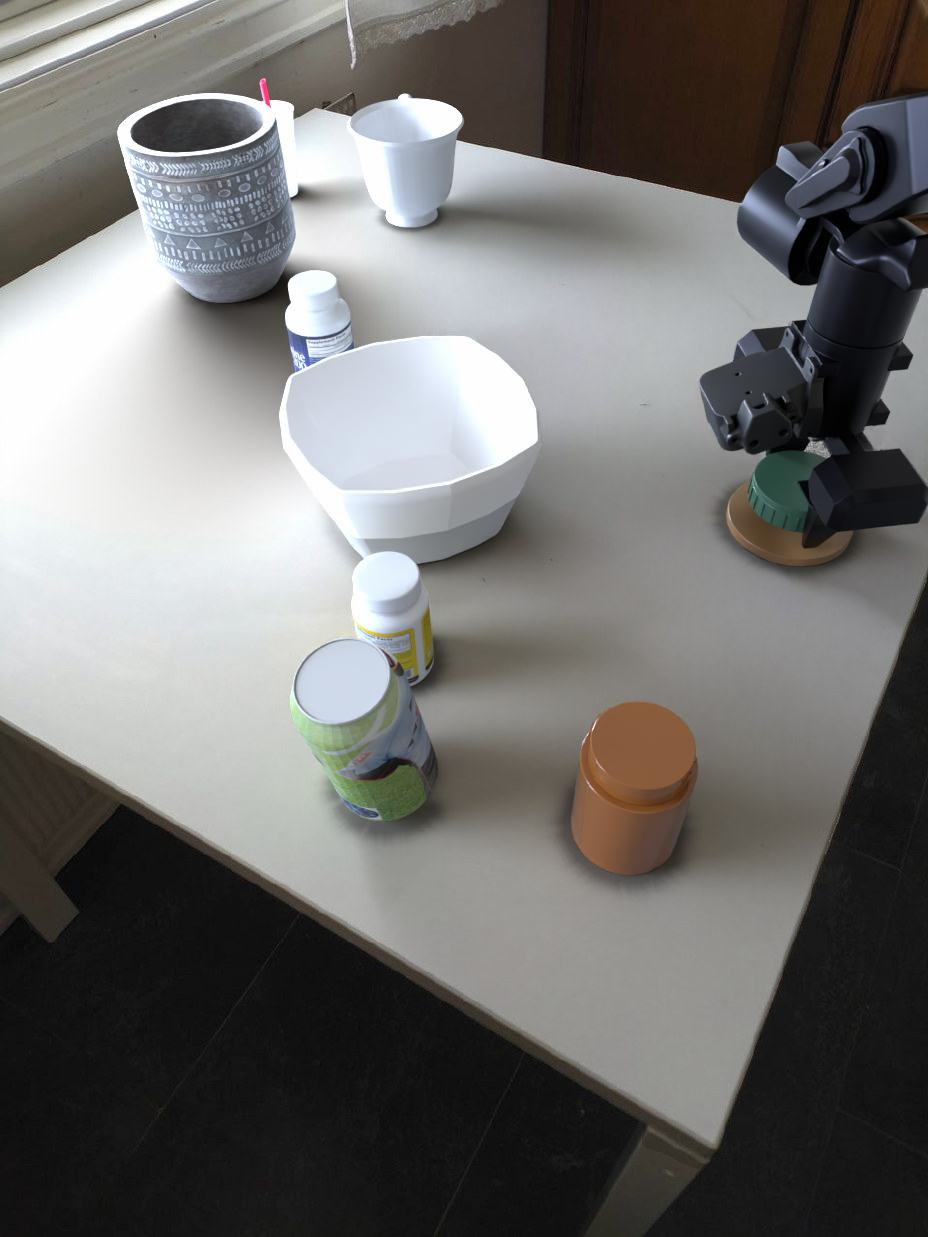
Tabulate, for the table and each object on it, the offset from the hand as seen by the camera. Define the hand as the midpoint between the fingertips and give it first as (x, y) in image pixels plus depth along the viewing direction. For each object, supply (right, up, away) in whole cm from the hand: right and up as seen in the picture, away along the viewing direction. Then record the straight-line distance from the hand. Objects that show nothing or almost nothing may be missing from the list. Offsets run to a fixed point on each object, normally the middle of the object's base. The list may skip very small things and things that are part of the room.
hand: (791, 513), depth 66 cm
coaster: (0, -1, +1) cm, 1 cm away
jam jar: (-15, -19, -15) cm, 29 cm away
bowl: (-28, +1, +3) cm, 28 cm away
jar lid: (0, +2, -2) cm, 3 cm away
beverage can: (-29, -18, -13) cm, 36 cm away
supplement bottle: (-28, -11, -7) cm, 31 cm away
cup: (-45, +42, +39) cm, 73 cm away
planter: (-48, +27, +26) cm, 61 cm away
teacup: (-30, +38, +35) cm, 60 cm away
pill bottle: (-36, +13, +14) cm, 41 cm away
